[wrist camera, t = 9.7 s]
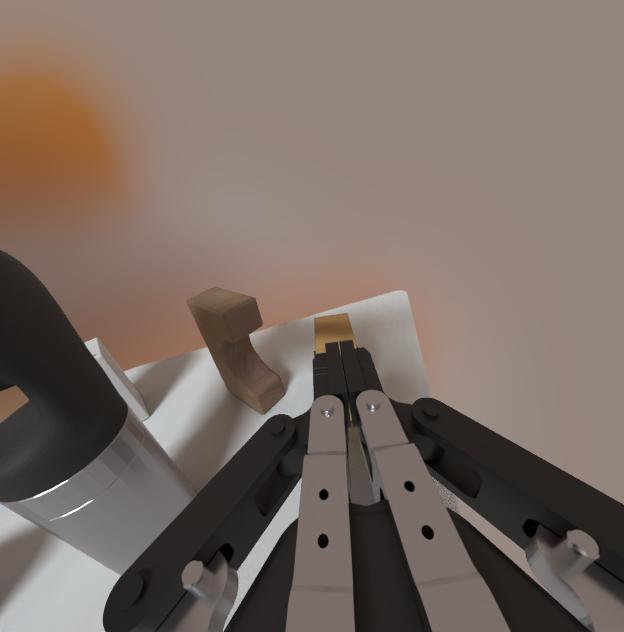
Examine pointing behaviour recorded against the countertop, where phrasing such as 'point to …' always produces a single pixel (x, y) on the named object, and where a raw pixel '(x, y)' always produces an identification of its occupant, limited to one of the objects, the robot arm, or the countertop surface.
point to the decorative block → (236, 345)
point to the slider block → (332, 331)
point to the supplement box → (118, 378)
